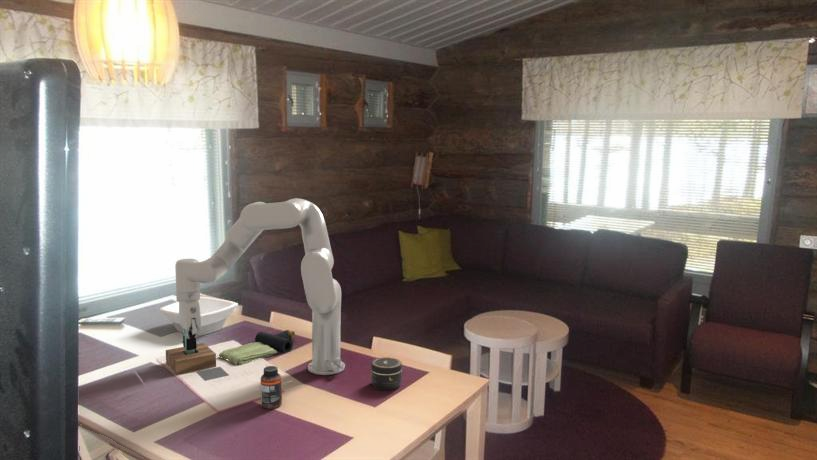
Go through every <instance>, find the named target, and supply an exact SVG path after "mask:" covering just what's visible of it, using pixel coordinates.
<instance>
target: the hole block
mask: <svg viewBox="0 0 817 460" xmlns="http://www.w3.org/2000/svg"><path fill="white" fill-rule="evenodd" d="M196 345H197V348H196V349H194V350H195V353H194V354H188V355H185V347H184V346H181V347H175V348H169V349H165V364H166V365H167V366H168V367H169V368H170V369H171V371H173V372H174V374H175V375H177V376H178V375H183V374H187V373H193V372H198V371H203V370H207V369H212V368H217V353H216V352H215V351H214V350H212V348H210V347H209V346H208V345H207V344H205V343H204V342H202V343H196Z"/></svg>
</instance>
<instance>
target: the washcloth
mask: <svg viewBox="0 0 817 460" xmlns="http://www.w3.org/2000/svg"><path fill="white" fill-rule="evenodd" d="M276 354H278V351H277V350H274V349H273V348H271V347H269V346H268V345H264V344H262V343H261V342H255V341H254V342H250V343H249V342H248V343H246V344H243V345H239V346H237V347H231V348H229V349H225V350H223V351H221V352H219V354H218V357H219V356H220V357H222V358H225V359H228V360H229V361H231V362H230V363H231V364H233V363H234V364H233V365H235V366H241V365H246V364H248V363H250V362H253V361H252V360H254V361H256V360H255V359H257V360H259V359H258V358H260V359H263V358H268V357H272V356H274V355H276ZM220 357H219V358H220ZM229 361H228V362H229Z"/></svg>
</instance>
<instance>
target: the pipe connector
mask: <svg viewBox="0 0 817 460" xmlns="http://www.w3.org/2000/svg"><path fill="white" fill-rule="evenodd" d="M295 333H296V332H295V331H292V330H289V329H286V330H283V331H281V332H279V333H276V334H271V333H267V332H265V331H259V332H258V333H256V335H255V337H254V343H255V342H261V343H262V344H264V345H268V346H269V347H271V348H273V349H274V350H276V351H277V352H281V353H285V354H286V353H289V352H291V351H292V349H293V345H294V343H295V342H296V338H295V337H294V336H296V335H295Z"/></svg>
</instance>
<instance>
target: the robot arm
mask: <svg viewBox="0 0 817 460" xmlns="http://www.w3.org/2000/svg"><path fill="white" fill-rule="evenodd" d="M297 226H299V227H300V229H301V237H302V242H303V248H304V253H305V254H304V256H303V258H302V260H301V264H300V272H301V278H302V283H303V289H304V294H305V298H306V299H305V300H306V303H307V305H308V306H309V308H310V309H311V310H312V312H311V313H312V315H311V318H312V319H311V320H312V321H311V323H312V324H311V333H312V334H311V340H312V341H311V343H312V344H311V347H312V348H311V352H312V357H311V358H312V361H311V362H310V363H308V365H307V370H308V372H310V373H311V374H314V375H318V376H319V375H320V376H331V375H335V374H339V373H342V372H344V371H345V369H346V363H344V361H342V359H341V325H342V323H341V318H342V317H341V314H342V312H341V311H342V309H341V308H342V288H341V285H340V283H339V282H338V280H336V279H335V278H333V274H332V269H333V267H334V264H335V263H334V262H335V260H334V255H333V251H332V247H331V242H330V237H329V233H328V229H327V225H326V220H325V218H324V215H323V213H322V211H321V209H320V208H319V207H318V206H317V205H316V204H314V202H311V201H309V200H307V199H303V198H297V197H295V198H291V199H287V200H285V201H280V202H268V203H266V202H264V201H256V202H253V203H249V204H247V205H246V206H244V207H243V208H242V211H241V212H240V215H239V217H238V219H237V220H236V221H235V223H234V224H233V225H231V227H230V228H229V229H228V230H227V232H226V233H225V239H224V241H223V242H222V244H221V246H220V247H219V248H218V249H217V250H216V251H215V252H214V253H213V254H212V255H211V256H210V257H209V258H207V259H205V260H203V261H198V260H197V259H195V258H181V259H179V260H177V261H176V262H175V291H176V292H175V295H176V302H179V323H180V325H181V326H182V327H183V333H182V345H183V346H182V347H185V331H184V329H185V330H187V339H186V349H187V350H193V349H196V348H197V345H196V344H197V336H196V334H197V330H196V327H197V328H198V329H201V314H200V305H199V301H198V300H200V297H201V284H205V285H207V284H212V283H214V282H216V281H218V280H219V279H220V278H221V277H223V276H225V274H226V273H228V271H229V270H230V269H231V268H232V267H233V266H234V265H235V264H236V263H237V262H238V260H239V259H240V258H241V257H242V256H243V254H244V253H245V252H247V249H248V248H249V247H251V245H252V243H254V241H255V240H256V239H257V238H258V237H259V236H260V234H261V233H262V232H263V231H269V230H282V229H290V228H294V227H297ZM189 328H192V329H189ZM191 331H192V332H191ZM189 332H190V334H189Z"/></svg>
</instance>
